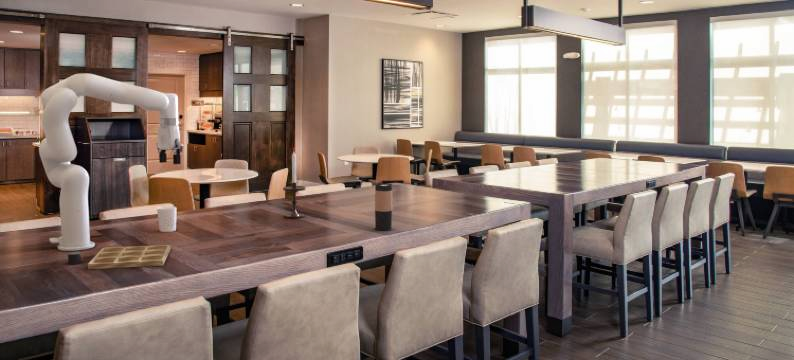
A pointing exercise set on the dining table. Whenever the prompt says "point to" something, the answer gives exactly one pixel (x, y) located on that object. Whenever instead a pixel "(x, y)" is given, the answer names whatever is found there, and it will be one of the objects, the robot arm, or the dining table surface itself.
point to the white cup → (167, 218)
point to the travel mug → (383, 207)
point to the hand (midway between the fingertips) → (169, 163)
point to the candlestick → (294, 189)
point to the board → (130, 257)
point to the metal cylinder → (74, 257)
